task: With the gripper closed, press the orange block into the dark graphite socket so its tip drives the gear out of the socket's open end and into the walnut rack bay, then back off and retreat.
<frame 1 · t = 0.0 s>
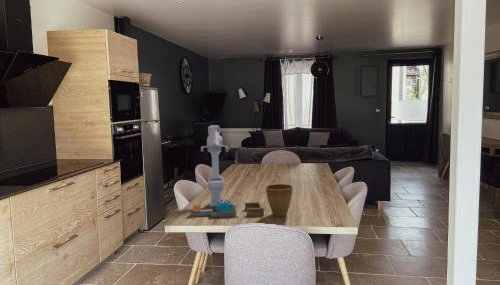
hand: (214, 160, 202), 32 cm above the table, tool tilted 50°, fingers open, 7 cm apart
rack: (248, 212, 215), on the table
gear: (225, 214, 214), on the table
orange block: (203, 209, 213), point 3 cm above the table, slide at 0.0 cm
plant pot: (279, 215, 210), on the table
socket: (216, 214, 213), on the table
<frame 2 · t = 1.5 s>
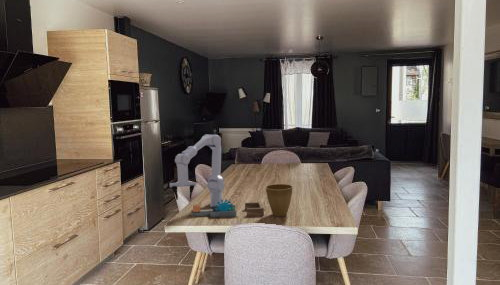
hand: (183, 199, 211), 9 cm above the table, tool pointing down, fingers open, 7 cm apart
nothing on the table moved.
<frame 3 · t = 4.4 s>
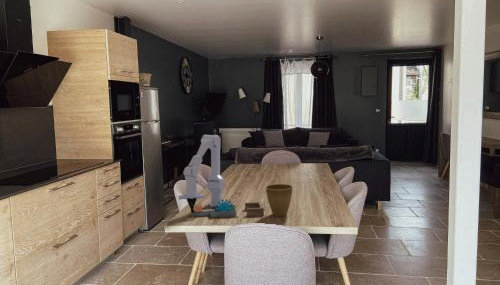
hand: (192, 211, 212), 2 cm above the table, tool pointing down, fingers closed
orange block: (204, 209, 213), point 3 cm above the table, slide at 1.0 cm, touching gripper
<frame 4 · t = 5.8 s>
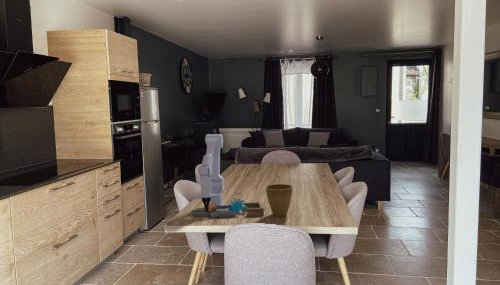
hand: (206, 210, 213), 2 cm above the table, tool pointing down, fingers closed
gear: (238, 213, 215), on the table, touching orange block
orange block: (219, 209, 213), point 3 cm above the table, slide at 9.1 cm, touching gear, gripper
everything else where it was.
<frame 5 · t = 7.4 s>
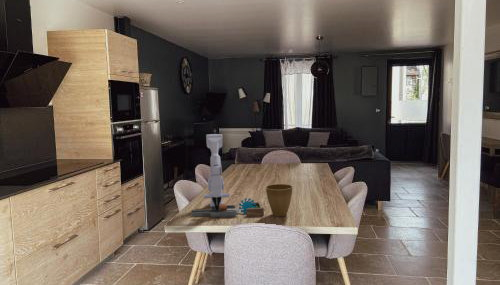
hand: (217, 210, 213), 2 cm above the table, tool pointing down, fingers closed
gear: (248, 212, 215), on the table, touching orange block
orange block: (229, 208, 214), point 3 cm above the table, slide at 14.9 cm, touching gear, gripper
everything else where it was.
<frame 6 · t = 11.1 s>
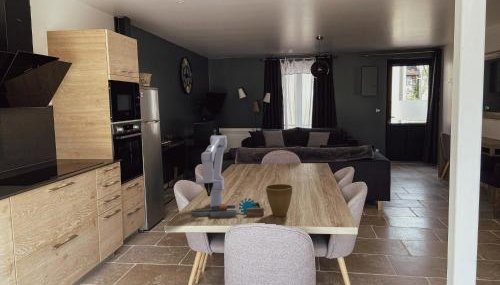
hand: (209, 196, 217), 9 cm above the table, tool pointing down, fingers closed
orange block: (229, 208, 214), point 3 cm above the table, slide at 15.0 cm, touching gear
everything else where it was.
at the end: gear inside the target area (0.8 cm from its centre), on the table; orange block slide at 15.0 cm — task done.
